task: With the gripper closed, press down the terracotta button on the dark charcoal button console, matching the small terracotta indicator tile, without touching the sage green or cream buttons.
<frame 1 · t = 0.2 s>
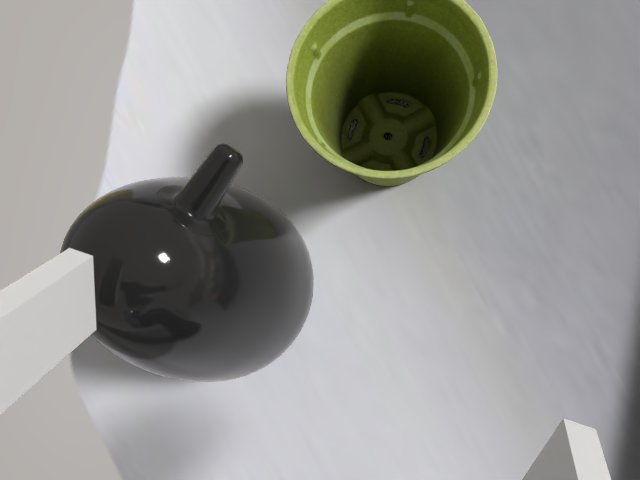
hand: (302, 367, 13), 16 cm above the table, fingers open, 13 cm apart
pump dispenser: (242, 286, 30), on the table
plant pot: (389, 140, 30), on the table
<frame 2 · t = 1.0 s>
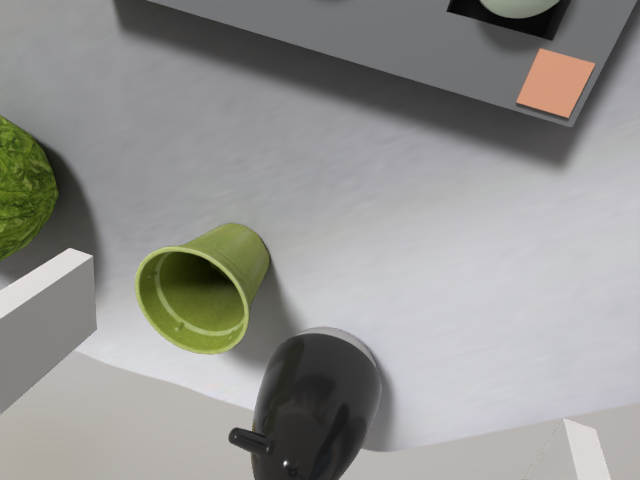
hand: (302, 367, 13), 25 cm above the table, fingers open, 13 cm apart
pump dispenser: (334, 352, 45), on the table
plant pot: (240, 251, 43), on the table
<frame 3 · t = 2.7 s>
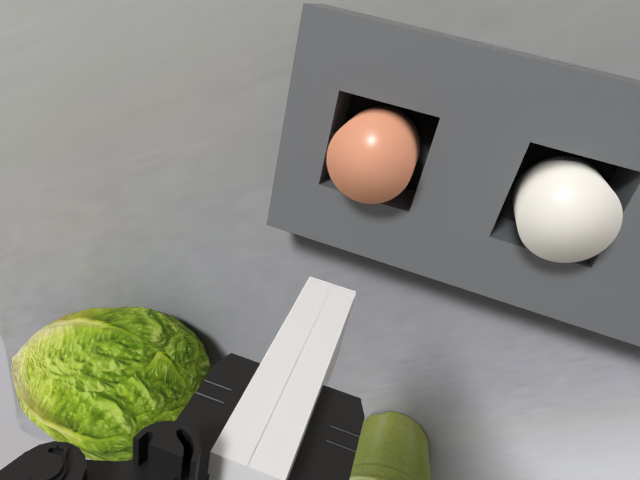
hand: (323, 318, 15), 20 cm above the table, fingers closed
cream button: (562, 208, 26), point 4 cm above the table, slide at 0.0 cm
terracotta button: (374, 154, 28), point 4 cm above the table, slide at 0.0 cm
lettuce: (136, 341, 48), on the table
plant pot: (394, 433, 43), on the table
button console: (551, 185, 30), on the table
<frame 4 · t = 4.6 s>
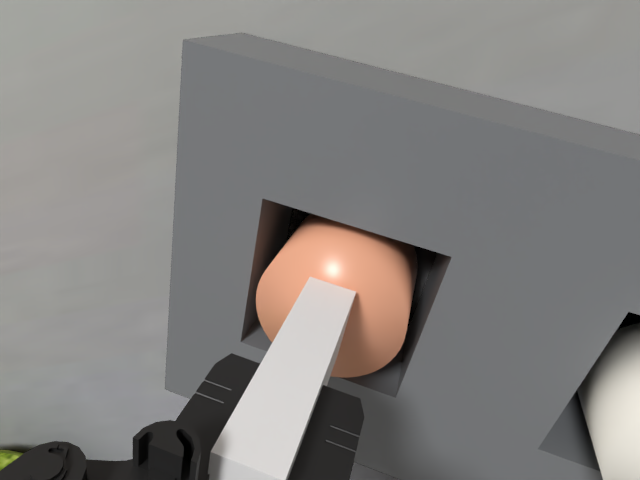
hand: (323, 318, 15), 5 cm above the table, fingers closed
terracotta button: (341, 286, 17), point 3 cm above the table, slide at 1.3 cm, touching gripper
lettuce: (31, 475, 35), on the table
button console: (638, 340, 18), on the table
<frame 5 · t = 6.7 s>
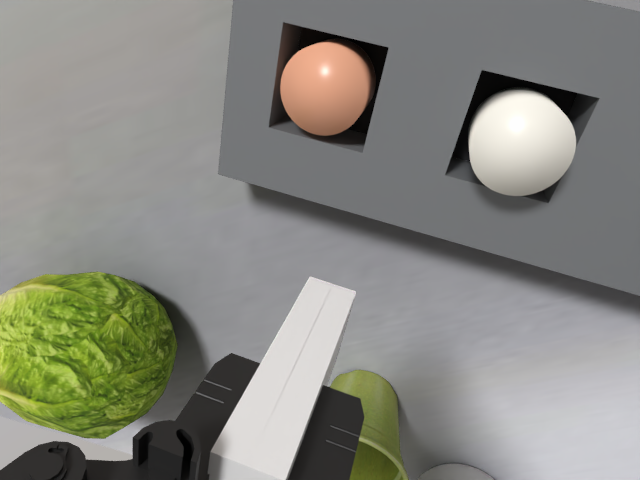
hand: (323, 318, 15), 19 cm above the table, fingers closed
cream button: (516, 140, 25), point 4 cm above the table, slide at 0.0 cm
terracotta button: (329, 86, 28), point 3 cm above the table, slide at 1.5 cm
lettuce: (98, 310, 46), on the table
plant pot: (364, 392, 43), on the table
button console: (509, 122, 29), on the table
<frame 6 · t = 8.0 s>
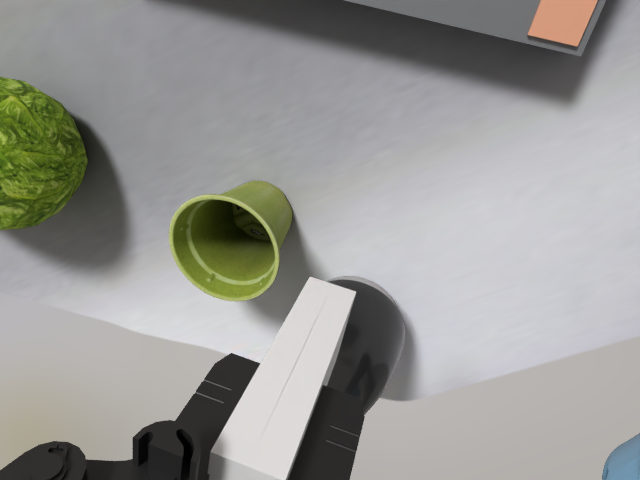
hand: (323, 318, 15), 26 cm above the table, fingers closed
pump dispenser: (356, 303, 47), on the table
lettuce: (22, 142, 49), on the table
plant pot: (263, 209, 45), on the table
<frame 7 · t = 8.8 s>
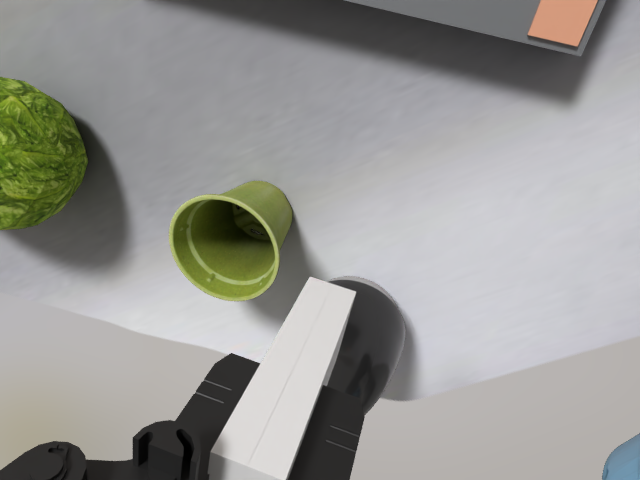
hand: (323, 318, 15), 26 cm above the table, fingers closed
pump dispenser: (356, 303, 47), on the table
lettuce: (22, 142, 49), on the table
plant pot: (263, 209, 45), on the table
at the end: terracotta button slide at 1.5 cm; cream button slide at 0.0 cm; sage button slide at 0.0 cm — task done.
